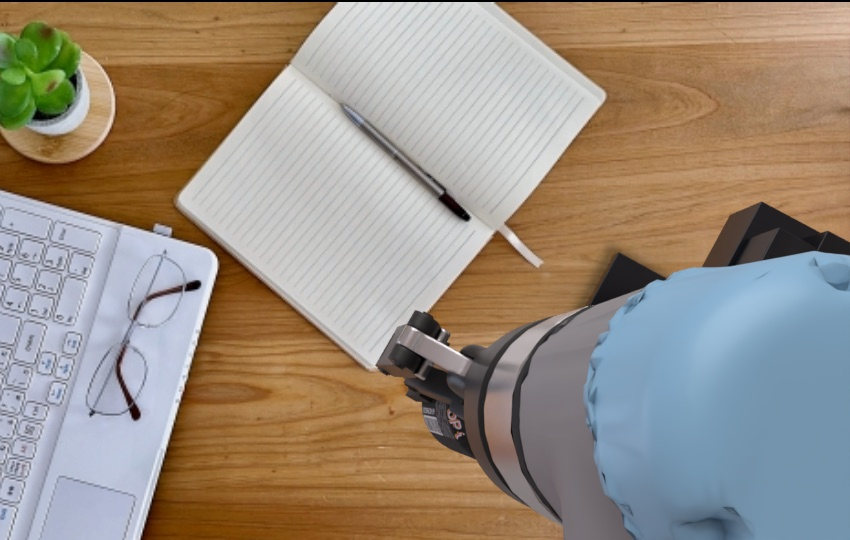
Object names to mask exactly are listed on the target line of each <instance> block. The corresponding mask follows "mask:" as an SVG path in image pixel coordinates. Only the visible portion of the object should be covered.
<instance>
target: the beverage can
mask: <svg viewBox="0 0 850 540" xmlns="http://www.w3.org/2000/svg"><path fill="white" fill-rule="evenodd" d="M449 408H450V405H449V404H446V403H444V402H441V401H439V400H436V399H433V400H432V402H431V403H426V402H421V413H422V417H423V421H424V423H425V425H426V427H427V430H428V431H429V433H430V434H431V435H432V437H433V438H434V439H435V440H436V441H437V442H438V443H440V444H441V445H442V446H443V447H445V448H447V449H448V450H450V451H454V452H456V453H458V454H460V455H463V456H465V457H468V458H470V459H473V460H476V458H475V456H474V454H473V452H472V450H471V447H470V444H469V441H468V438H467V434H466V429H465V422H464V420H463V419H461V418H459V417H458V416H456V415H454V414H453V413H451V412H450V410H449ZM476 461H477V460H476Z"/></svg>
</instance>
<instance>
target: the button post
mask: <svg viewBox="0 0 850 540" xmlns="http://www.w3.org/2000/svg"><path fill="white" fill-rule="evenodd" d="M811 251H818V252H823V253H831V254H841V255H849V256H850V241H849V240H847V239H844V238H843V237H841V236H839V235H837V234H835V233H833V232H832V231H830V230H825V231H822V232H820V231H819V230H816V229H814V228H813V227H811V226H809V225H808V224H805V223H804V222H801V221H799V220H798V219H796V218H794V217H792V216H790V215H788V214H786V213H785V212H783V211H781V210H779V209H777V208H775V207H773V206H771V205H769V204H768V203H766V202H764V201H763V200H762V201H759V202H757V203H754V204H752V205H749V206H748V207H745V208H743V209H740V210H738V211H736V212H733V213H731V214H730V215H728V218H727V219H726V221H725V223H724V225H723V227H722V229H721V230H720V232H719V234H718V236H717V238H716V240H715V241H714V244H713V246H712V247H711V249H710V250H709V253H708V255H707V256H706V258H705V260H704V261H703V264H702V266H701V267H730V266H736V265H741V264H747V263H752V262H758V261H763V260H769V259H774V258H780V257H785V256H790V255H795V254H800V253H806V252H811ZM667 278H668V277H665V276H663V275H661V274H659V273H657V272H656V271H654V270H652V269H650V267H649V268H648V267H647V266H644V265H643V264H641V263H640V262H637V261H636V260H634V259H633V258H630V257H629V256H627V255H625V254H623V253H621V252H619V251H618V252H615V253H614V254H613V255H612V256H611V258H610V260H609V262H608V264H607V266H606V268H605V269H604V271H603V273H602V275H601V277H600V278H599V280H598V282H597V284H596V285H595V287H594V289H593V291H592V292H591V294H590V296H589V298H588V299H587V302H586V304H585V305H584V307H587V306H593V305H598V304H600V303H603V302H606V301H609V300H612V299H614V298H617V297H620V296H623V295H625V294H628V293H631V292H634V291H637V290H639V289H642V288H644V287H645V286H647V285H648V284H649V283H651V282H653V281H655V280H662V281H664V280H666V279H667Z"/></svg>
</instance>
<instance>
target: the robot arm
mask: <svg viewBox="0 0 850 540" xmlns="http://www.w3.org/2000/svg"><path fill="white" fill-rule="evenodd" d="M666 278H667V279H666V280H664V281H662V280H655V281H653V282H651V283H649V284H648V285H647V286H645V287H644V288H642V289H639V290H637V291H634V292H631V293H628V294H625V295H623V296H620V297H617V298H614V299H612V300H609V301H606V302H603V303H600V304H598V305H593V306H587V307H585V306H583V307H580V308H576V309H573V310H570V311H566V312H564V313H561V314H555V315H553V316H548V317H544V318H541V319H538V320H534V321H532V322H528V323H525V324H523V325H520V326H517V327H516V328H514V329H512V330H510V331H508V332H506V333H505V334H503V335H502V336H501V337H499V338H497V339H496V340H495V341H494V342H493V343H491V344H490V345H488V346H487V347H485V346H483V345H479V344H467V345H465V346H463V347H462V348H461V349H460V350H459V351H458V350H456V349H455V348H452V347H451V346H450V345H451V343H450V342H448V341H449V339H450V338H451V336H452V334H451V332H450V331H449V330H447V329H445V328H443V327H441V325H440V323H439V321H437V320H436V319H435V317H434V316H433V314H432V315H431V314H430V313H429V312H427V311H419V310H417V309H414V311H413V313H412V314H411V315H410V318H409V319H408V321H407V323H405V324H402V325H398V326H397V327H396V329H395V330H394V332H393V333H392V335H391V337H390V339H389V340H388V342H387V344H386V346H385V347H384V349H383V351H382V352H381V354H380V356H379V358H378V359H377V362H376V363H375V365H374V366H375V367H376V368H377V370H379V373H381V374H383V375H385V376H386V377H388V376H391V377H394V378H402V379H404V380H403V384H404V386H405V387H407V392H406V393H405V397H407V398H409V399H411V400H413V401H414V402H417V403H422V402H426V403H431V402H432V400H433V399H436V400H439V401H441V402H444V403H446V404H449V405H450V408H449V410H450V412H451V413H453V414H454V415H456V416H458V417H459V418H461V419H463V420H464V422H465V429H466V434H467V438H468V441H469V444H470V447H471V450H472V452H473V454H474V456H475V458H476V462H477V464H478V465H479V467H480V469H481V470H482V471H483V473H484V474H485V475H486V476H487V477H488V479H489V480H490V481H491V483H492V484H494V486H496V487H497V488H498V489H500V491H501V492H503V493H504V494H505V495H507V496H508V497H510V498H511V499H512V500H514V501H516V502H518V503H520V504H521V505H523V506H526V507H527V508H529V509H531V510H532V511H534V512H535V513H537V514H538V515H540V516H542V517H544V518H546V519H548V520H549V521H551V522H553V523H555V524H557V526H560V527H562V535H563V537H562V538H563V540H850V256H849V255H841V254H831V253H823V252H818V251H811V252H806V253H800V254H795V255H790V256H785V257H780V258H774V259H769V260H763V261H758V262H752V263H747V264H741V265H736V266H730V267H702V266H701V267H699V266H698V267H697V266H694V267H693V266H692V267H688V268H685V269H681V270H677V271H674V272H672V273H671V274H670V275H668V277H666Z"/></svg>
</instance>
